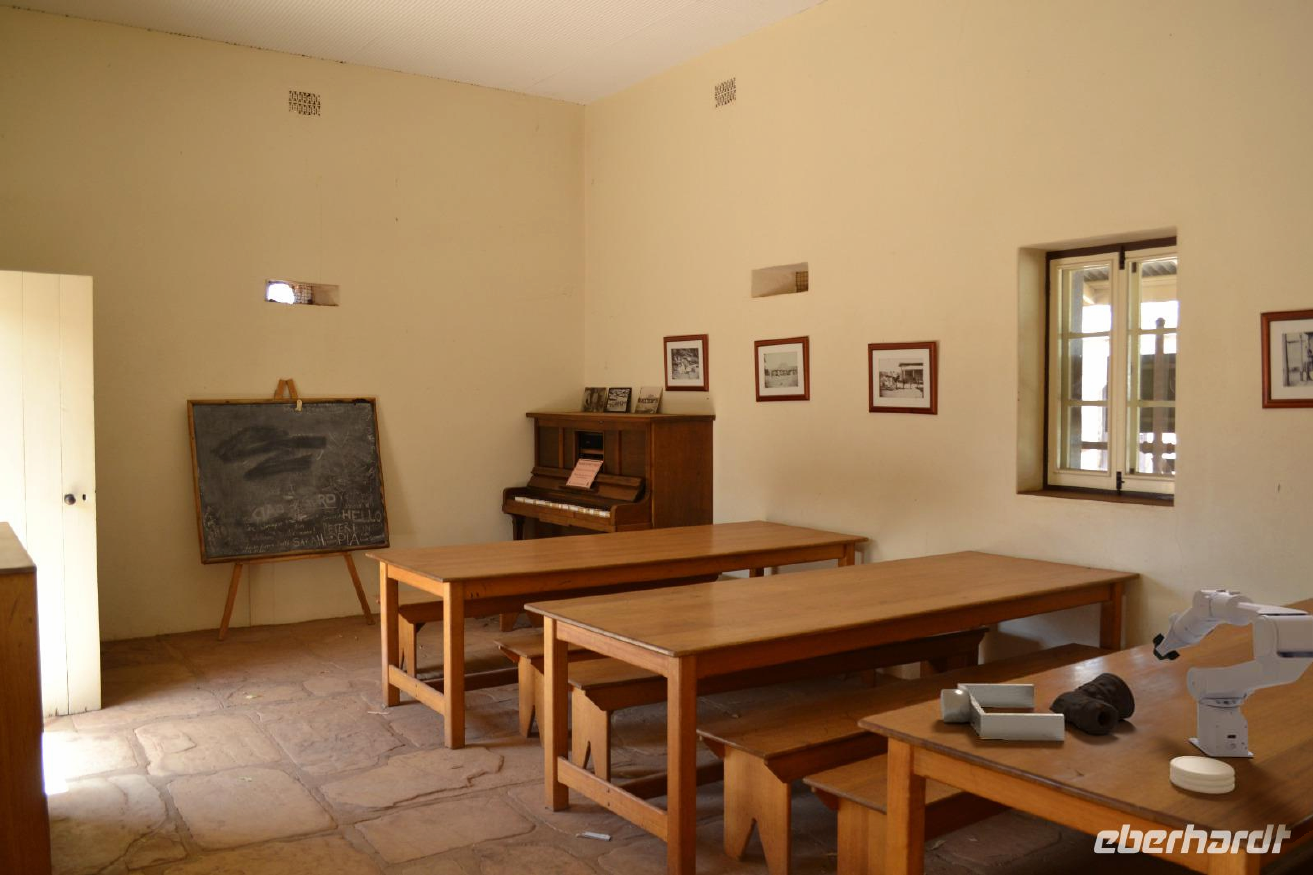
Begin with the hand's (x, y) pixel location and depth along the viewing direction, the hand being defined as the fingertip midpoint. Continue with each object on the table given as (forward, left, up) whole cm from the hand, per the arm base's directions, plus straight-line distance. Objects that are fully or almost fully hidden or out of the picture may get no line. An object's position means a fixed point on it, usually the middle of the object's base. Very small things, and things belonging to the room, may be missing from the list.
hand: (1170, 646), depth 215 cm
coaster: (-39, +10, -16) cm, 43 cm away
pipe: (-5, +17, -16) cm, 24 cm away
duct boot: (-5, +37, -15) cm, 41 cm away
